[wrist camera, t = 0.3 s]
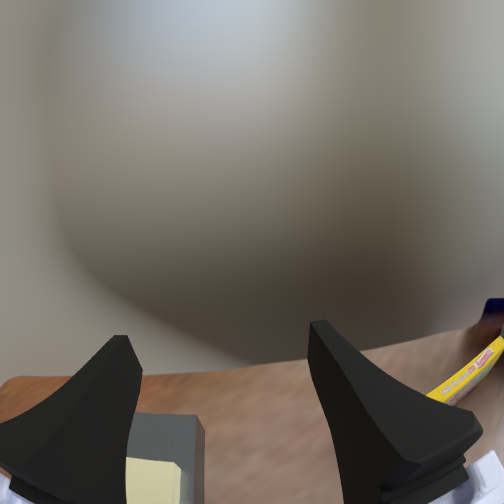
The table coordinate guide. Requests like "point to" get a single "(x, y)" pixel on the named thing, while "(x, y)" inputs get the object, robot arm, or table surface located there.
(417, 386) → the table surface
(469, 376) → the candy box
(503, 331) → the coffee box
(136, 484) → the sticky-note pad
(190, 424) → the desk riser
